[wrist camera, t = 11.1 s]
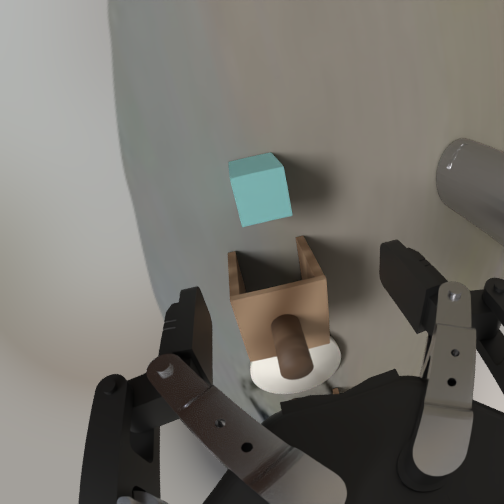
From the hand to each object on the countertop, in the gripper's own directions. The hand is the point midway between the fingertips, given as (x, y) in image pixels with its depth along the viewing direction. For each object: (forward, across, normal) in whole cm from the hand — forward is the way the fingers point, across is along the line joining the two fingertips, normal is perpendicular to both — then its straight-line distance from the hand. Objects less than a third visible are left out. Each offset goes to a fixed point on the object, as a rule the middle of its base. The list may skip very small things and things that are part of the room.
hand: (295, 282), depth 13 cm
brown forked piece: (+17, 0, +11) cm, 20 cm away
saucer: (+17, -1, +27) cm, 32 cm away
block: (+17, 0, 0) cm, 17 cm away
